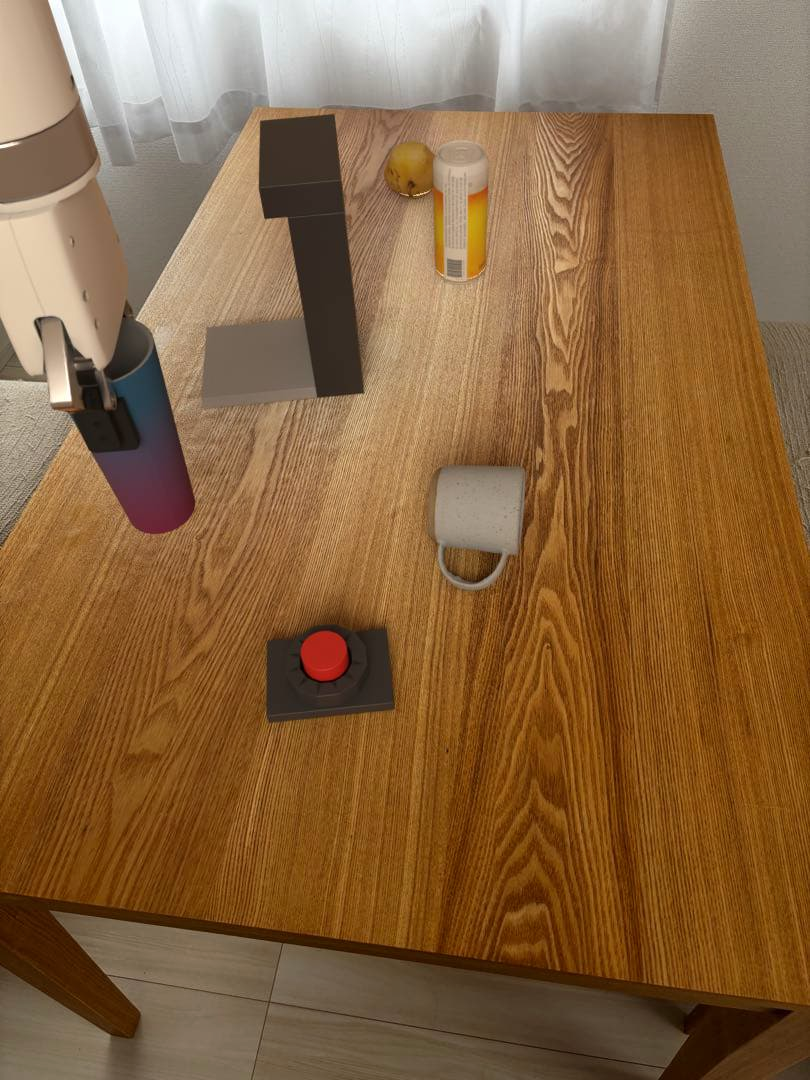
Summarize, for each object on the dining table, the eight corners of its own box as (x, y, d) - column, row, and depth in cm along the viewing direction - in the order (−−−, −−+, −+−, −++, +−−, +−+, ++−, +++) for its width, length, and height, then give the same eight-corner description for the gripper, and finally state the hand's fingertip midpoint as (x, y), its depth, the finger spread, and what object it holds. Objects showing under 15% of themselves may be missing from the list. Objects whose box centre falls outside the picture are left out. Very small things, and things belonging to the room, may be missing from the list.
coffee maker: (204, 409, 92) (139, 198, 73) (209, 337, 99) (152, 129, 80) (364, 393, 92) (340, 179, 73) (357, 323, 100) (334, 113, 81)
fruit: (436, 173, 109) (448, 132, 114) (383, 157, 108) (397, 117, 114) (425, 220, 114) (436, 179, 120) (374, 205, 114) (388, 165, 120)
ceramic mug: (437, 499, 82) (435, 442, 76) (524, 506, 81) (529, 449, 75) (422, 591, 76) (418, 537, 70) (515, 600, 75) (520, 546, 69)
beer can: (487, 258, 106) (491, 138, 95) (483, 288, 103) (487, 167, 91) (438, 256, 107) (435, 137, 95) (432, 286, 103) (429, 165, 92)
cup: (101, 505, 66) (24, 347, 54) (179, 462, 68) (122, 302, 56) (143, 559, 62) (71, 403, 50) (224, 512, 65) (173, 353, 53)
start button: (304, 684, 68) (301, 672, 66) (303, 644, 70) (300, 632, 68) (350, 679, 68) (347, 667, 66) (347, 640, 70) (345, 628, 69)
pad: (268, 723, 68) (262, 705, 66) (269, 648, 73) (262, 628, 71) (394, 710, 69) (392, 691, 66) (387, 635, 73) (385, 615, 71)
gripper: (-19, 76, 49) (87, 334, 63) (-111, 250, 38) (41, 515, 52) (115, 66, 49) (190, 326, 63) (60, 237, 38) (166, 505, 52)
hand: (122, 409), depth 57 cm, fingers closed on cup, 6 cm apart
